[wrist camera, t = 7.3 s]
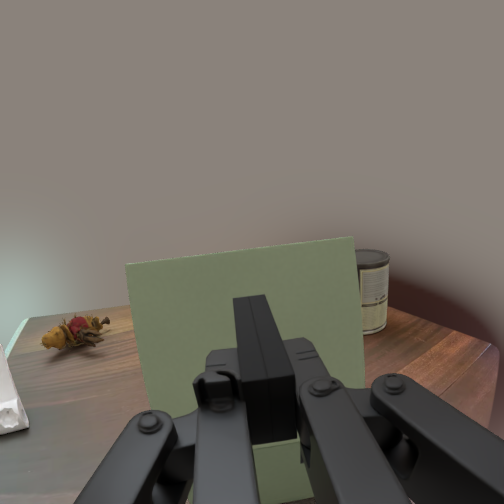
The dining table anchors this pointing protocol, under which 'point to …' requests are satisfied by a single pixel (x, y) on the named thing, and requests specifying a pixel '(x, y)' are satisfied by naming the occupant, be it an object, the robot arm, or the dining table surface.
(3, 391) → the plastic part
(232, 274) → the lid
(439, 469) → the robot arm
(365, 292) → the coffee can
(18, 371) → the dining table surface
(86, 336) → the scarecrow
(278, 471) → the chest
